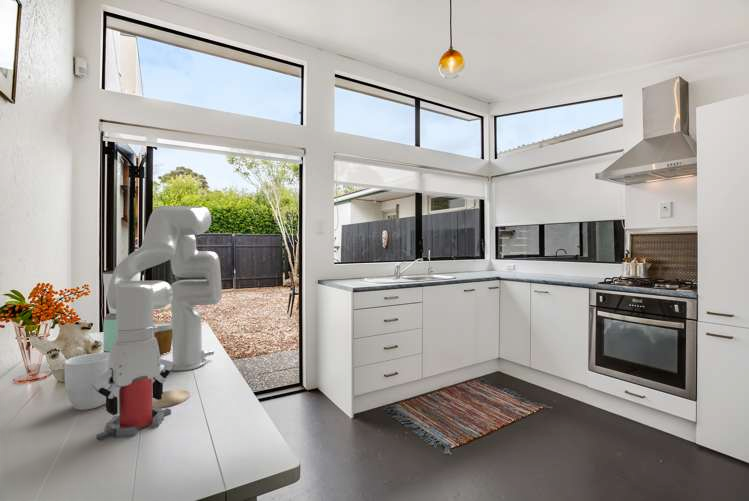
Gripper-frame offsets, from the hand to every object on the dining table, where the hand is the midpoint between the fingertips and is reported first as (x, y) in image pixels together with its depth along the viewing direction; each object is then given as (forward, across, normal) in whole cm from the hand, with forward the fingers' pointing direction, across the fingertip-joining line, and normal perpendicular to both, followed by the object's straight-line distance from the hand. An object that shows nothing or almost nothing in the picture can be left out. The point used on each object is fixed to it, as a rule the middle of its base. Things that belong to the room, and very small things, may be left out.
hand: (135, 405), depth 86 cm
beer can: (+5, 0, 0) cm, 5 cm away
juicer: (+5, -28, -76) cm, 81 cm away
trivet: (+5, -12, -9) cm, 16 cm away
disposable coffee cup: (+5, -36, -60) cm, 70 cm away
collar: (+5, 0, 0) cm, 5 cm away
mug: (+5, 0, -23) cm, 24 cm away
